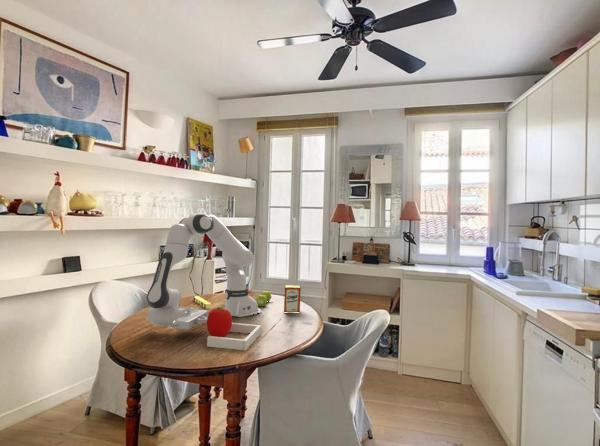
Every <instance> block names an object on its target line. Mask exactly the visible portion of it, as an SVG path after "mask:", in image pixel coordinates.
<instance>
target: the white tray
mask: <svg viewBox="0 0 600 446" xmlns="http://www.w3.org/2000/svg"><path fill="white" fill-rule="evenodd" d="M230 332H231V333H238V332H240V334H248V333H250V334H248V335H247V336H246V337H245V338H243V339H242V338H232V337H215V336H210V335H207V337H206V338H207V339H206V345H207V346H206V347H211V348H217V349H219V348H220V349H226V350H227V349H228V350H230V349H231V350H239V351H247V350H248V349H249V348H250V347H251V345H252V344H253V343H254V342H255V341H256V340H257V339H258V338H257V337H258V336H259V337H260V336H261V334H262V325H261V324H260V325H259V324H249V323H239V322H238V323H237V322H232V326H231V329H230V331H229V333H230ZM256 338H257V339H256ZM249 346H250V347H249Z"/></svg>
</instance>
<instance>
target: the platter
mask: <svg viewBox="0 0 600 446" xmlns="http://www.w3.org/2000/svg"><path fill="white" fill-rule="evenodd" d="M193 302H194V303H196V304H198V305H199V306H200V307H203V308H204V310H207V309H212V303H211V302H209V301H207V300H206V299H204V298H203V297H200V296H199V295H197V296H193Z"/></svg>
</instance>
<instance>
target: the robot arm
mask: <svg viewBox="0 0 600 446" xmlns="http://www.w3.org/2000/svg"><path fill="white" fill-rule="evenodd" d="M204 234H206V236H207V237H208V238H209V239H210V241H211V242H212V243H213V244H214V245H215V246H216V247H217V249H218V250H220V251H221V252H222V254H221V256H222V260H223V261H224V265H225V271H226V289H225V304H224V305H225V306H224V308H223V309H226V310H228V311H229V312H230V313H231V316H232V317H237V318H238V317H239V318H243V317H248V316H253V314H254V315H258V314H257V313H259V314H262V313H261V312H263V311H262V309H261V308H259V306H258V304H257V302H256V300H255V299H254V298H253V297H252V296H251V295H250V294H251V293H252V290H250V289H247V274H246V273H245V271H244V267H249V266H251V265H252V264H253V261H254V253H253V252H252V251H251V250H249V249H248V248H247V247H246V246H245V245H244V244H243V243H242V242H241V241H239V240H238V239H237V238H236V237H235V236H234V235H233V234H232V233H231V231H230V230H229V229H228V228H227V226H226V224H224V223H223V222H222V221H221V220H220V218H218V217H217V216H216V215H214V214H205V213H198V214H192V215H190V216H188V217H184V218H182V219H181V220H180V221H179V223H176V224H172V225H171V227H170V228H169V231H168V233H167V237H166V239H165V246H164V250H163V253H162V254H161V256H160V258H159V260H158V263H157V266H156V270H155V274H154V276H153V280H152V283H151V286H150V287H149V290H148V291H147V293H146V301H147V304H148V305H149V307H150V308H149V309H148V310H147V320H148V321H149V323H150V324H152V325H155V326H159V327H172V328H175V329H179V330H190V329H193V327H194V326H197V325H199V324H207V318H208V315H209V311H208V310H207V309H201V308H200V309H199V308H194V307H192V306H191V307H181V308H180V304H181V301H182V293H181V292H180V290H178V289H177V288H176V287H175V288H173V287H168V282H169V278H170V274H171V270H172V268H173V267H174V266H175V265H177V264H180V263H181V262H184V260H186V259H187V255H188V253H189V245H190V239H191V238H192V237H197V236H199V235H204Z"/></svg>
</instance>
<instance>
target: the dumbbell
mask: <svg viewBox="0 0 600 446" xmlns="http://www.w3.org/2000/svg"><path fill="white" fill-rule="evenodd" d="M271 299H272V294H271V292H270V291H267V290H265V291H262V292H261V294H258V295H257V296H256V298H255V299H254V300H256V302H257V304H258V307H259V306H264V307H265V305H266V304H267V303H268V302H267V301H269V302H270V300H271Z"/></svg>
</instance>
